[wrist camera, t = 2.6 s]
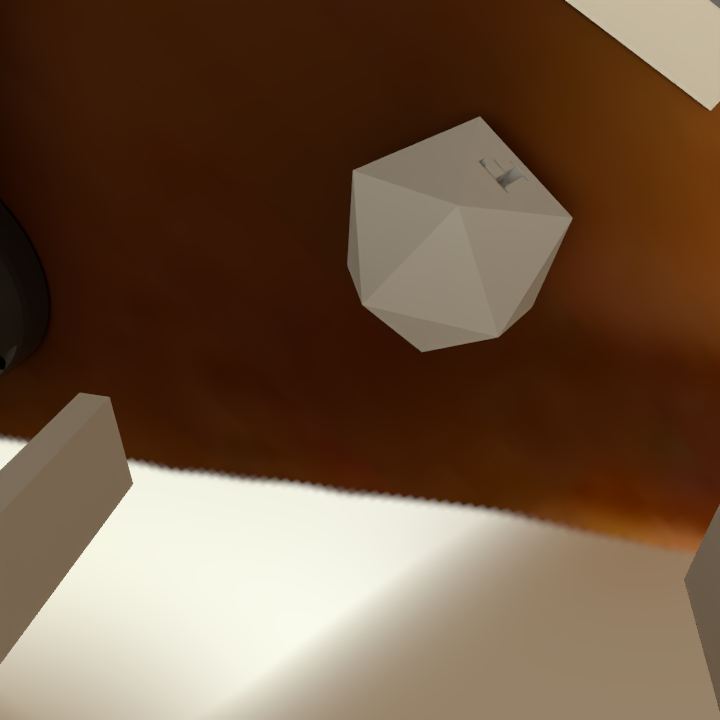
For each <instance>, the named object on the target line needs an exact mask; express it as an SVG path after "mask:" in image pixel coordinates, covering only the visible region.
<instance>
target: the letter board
mask: <svg viewBox="0 0 720 720" xmlns="http://www.w3.org/2000/svg"><path fill="white" fill-rule="evenodd" d="M566 1H567V2H568V3H570V4H571V5H572V6H573V7H575V8H576V9H577V10H579V11H580V12H581V13H583V14H584V15H585V16H587V17H588V18H589V19H591V20H592V21H593V22H594V23H596V24H597V25H598V26H600V27H601V28H602V29H604V30H605V31H606V32H608V33H609V34H610V35H612V36H613V37H614V38H615V39H617V40H618V41H619V42H621V43H622V44H623V45H625V46H626V47H627V48H629V49H630V50H631V51H633V52H634V53H635V54H636V55H638V56H639V57H640V58H642V59H643V60H644V61H646V62H647V63H648V64H650V65H651V66H652V67H654V68H655V69H656V70H657V71H659V72H660V73H661V74H663V75H664V76H665V77H667V78H668V79H669V80H671V81H672V82H673V83H675V84H676V85H677V86H678V87H680V88H681V89H682V90H684V91H685V92H686V93H688V94H689V95H690V96H692V97H693V98H694V99H696V100H697V101H698V102H699V103H701V104H702V105H703V106H705V107H706V108H707V109H709V110H710V111H711V110H712V109H713V108H714V107H715V106H716V104H717V103H718V102H719V101H720V0H566Z"/></svg>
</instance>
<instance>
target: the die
mask: <svg viewBox="0 0 720 720" xmlns="http://www.w3.org/2000/svg"><path fill="white" fill-rule="evenodd" d="M571 221H572V217H571V215H570V214H569V213H568V212H567V211H566V210H565V209H564V208H563V207H562V206H561V205H560V203H559V202H558V201H557V200H556V199H555V198H554V197H553V196H552V195H551V194H550V192H549V191H548V190H547V189H546V188H545V187H544V186H543V185H542V184H541V183H540V182H539V180H538V179H537V178H536V177H535V176H534V175H533V174H532V173H531V172H530V171H529V170H528V168H527V167H526V166H525V165H524V164H523V163H522V162H521V161H520V160H519V159H518V158H517V156H516V155H515V154H514V153H513V152H512V151H511V150H510V149H509V148H508V147H507V145H506V144H505V143H504V142H503V141H502V140H501V139H500V138H499V137H498V136H497V135H496V133H495V132H494V131H493V130H492V129H491V128H490V127H489V126H488V125H487V124H486V123H485V121H484V120H483V119H482V118H481V117H477V118H475V119H473V120H470V121H468V122H466V123H463V124H461V125H459V126H456V127H454V128H452V129H449V130H447V131H444V132H442V133H440V134H437V135H435V136H433V137H430V138H428V139H426V140H423V141H421V142H419V143H416V144H414V145H412V146H409V147H407V148H404V149H402V150H400V151H397V152H395V153H393V154H390V155H388V156H386V157H383V158H381V159H379V160H376V161H374V162H372V163H369V164H367V165H364V166H362V167H360V168H357V169H355V170H353V177H352V194H351V211H350V227H349V244H348V261H347V265H348V268H349V271H350V273H351V276H352V279H353V282H354V284H355V287H356V290H357V292H358V295H359V298H360V300H361V303H362V305H363V306H364V307H366V308H367V309H368V310H369V311H371V312H372V313H373V314H374V315H376V316H377V317H378V318H379V319H381V320H382V321H383V322H385V323H386V324H387V325H388V326H390V327H391V328H392V329H393V330H395V331H396V332H397V333H398V334H400V335H401V336H402V337H403V338H405V339H406V340H407V341H408V342H410V343H411V344H412V345H414V346H415V347H416V348H417V349H419V350H420V351H421V352H425V351H430V350H435V349H440V348H445V347H451V346H456V345H461V344H466V343H471V342H476V341H481V340H487V339H492V338H497V337H499V336H500V335H502V334H503V333H504V332H505V331H506V330H507V329H508V328H509V327H511V326H512V325H513V324H514V323H515V322H516V321H517V320H518V319H519V318H521V317H522V316H523V315H524V314H525V313H526V312H527V311H528V310H530V309H531V308H532V306H533V304H534V302H535V299H536V297H537V295H538V293H539V291H540V288H541V286H542V284H543V282H544V280H545V277H546V275H547V273H548V271H549V269H550V267H551V264H552V262H553V260H554V258H555V256H556V253H557V251H558V249H559V247H560V245H561V242H562V240H563V238H564V236H565V234H566V232H567V229H568V227H569V225H570V223H571Z"/></svg>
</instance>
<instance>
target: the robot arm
mask: <svg viewBox="0 0 720 720" xmlns="http://www.w3.org/2000/svg"><path fill="white" fill-rule="evenodd" d="M48 315H49V301H48V293H47V288H46V283H45V279H44V276H43V273H42V270H41V267H40V264H39V262H38V259H37V257H36V255H35V253H34V251H33V249H32V247H31V245H30V243H29V241H28V240H27V238H26V236H25V235H24V233H23V231H22V230H21V228H20V227H19V225H18V224H17V223H16V221H15V220H14V219H13V217H12V216H11V215H10V213H9V212H8V211H7V210H6V208H5V207H4V206H3V205H2V204H1V203H0V377H1V376H3V375H4V374H6V373H7V372H9V371H10V370H11V369H13V368H14V367H15V366H16V365H18V364H19V363H20V362H21V361H23V360H24V359H25V358H26V357H28V356H29V355H30V354H31V353H32V352H33V351H34V350H35V349H36V348H37V347H38V345H39V344H40V342H41V340H42V338H43V336H44V334H45V331H46V327H47V323H48ZM132 484H133V482H132V478H131V475H130V471H129V467H128V463H127V460H126V456H125V452H124V449H123V445H122V441H121V438H120V434H119V430H118V427H117V423H116V419H115V415H114V412H113V408H112V404H111V401H110V397H106V396H99V395H92V394H86V393H79V394H78V395H77V396H76V397H75V398H74V399H73V400H72V401H71V402H70V403H69V404H68V405H67V406H65V407H64V408H63V409H62V410H61V411H60V412H59V413H58V414H57V415H56V416H55V417H54V418H53V419H52V420H51V421H50V422H49V423H48V424H47V425H46V426H45V427H44V428H43V429H42V430H41V431H40V432H39V433H38V434H37V435H36V436H35V437H34V438H33V439H32V440H31V441H30V442H29V443H28V444H27V445H26V446H25V447H24V448H23V449H22V450H21V451H20V452H19V453H18V454H17V455H16V456H15V457H14V458H13V459H12V460H11V461H10V462H9V463H7V465H5V467H3V468H2V469H1V470H0V664H1V662H2V661H3V660H4V658H5V657H6V656H7V654H8V653H9V651H10V650H11V649H12V647H13V646H14V645H15V643H16V642H17V641H18V639H19V638H20V636H21V635H22V634H23V632H24V631H25V630H26V628H27V627H28V626H29V624H30V623H31V622H32V620H33V619H34V618H35V616H36V615H37V614H38V612H39V611H40V609H41V608H42V607H43V605H44V604H45V603H46V601H47V600H48V599H49V597H50V596H51V595H52V593H53V592H54V590H55V589H56V588H57V586H58V585H59V584H60V582H61V581H62V580H63V578H64V577H65V576H66V574H67V573H68V571H69V570H70V569H71V567H72V566H73V565H74V563H75V562H76V561H77V559H78V558H79V557H80V555H81V554H82V553H83V551H84V550H85V548H86V547H87V546H88V544H89V543H90V542H91V540H92V539H93V538H94V536H95V535H96V534H97V532H98V531H99V529H100V528H101V527H102V525H103V524H104V523H105V521H106V520H107V519H108V517H109V516H110V514H111V513H112V512H113V510H114V509H115V508H116V506H117V505H118V503H119V502H120V501H121V500H122V498H123V497H124V496H125V494H126V493H127V491H128V490H129V489H130V487H131V486H132ZM684 580H685V584H686V588H687V592H688V595H689V599H690V603H691V607H692V610H693V614H694V618H695V621H696V625H697V629H698V633H699V636H700V640H701V644H702V647H703V651H704V655H705V659H706V662H707V666H708V670H709V673H710V677H711V681H712V684H713V688H714V692H715V695H716V699H717V703H718V707H719V710H720V504H719V506H718V508H717V511H716V513H715V515H714V517H713V519H712V521H711V523H710V526H709V528H708V530H707V532H706V534H705V536H704V538H703V540H702V543H701V545H700V547H699V549H698V551H697V553H696V555H695V557H694V560H693V562H692V564H691V566H690V568H689V570H688V573H687V575H686V577H685V579H684Z"/></svg>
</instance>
